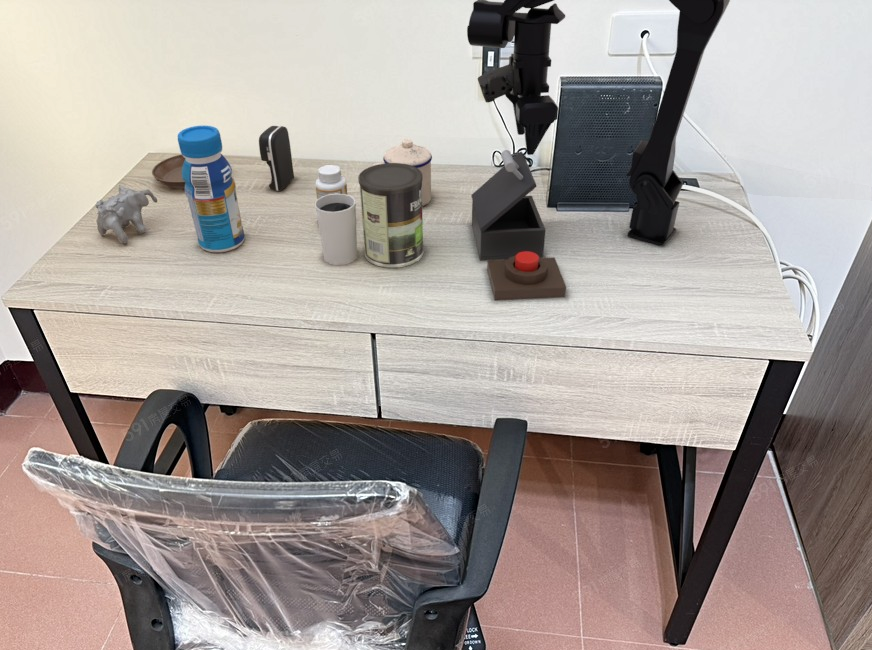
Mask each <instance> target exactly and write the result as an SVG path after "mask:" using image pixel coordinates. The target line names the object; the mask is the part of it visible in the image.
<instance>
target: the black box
mask: <svg viewBox="0 0 872 650" xmlns="http://www.w3.org/2000/svg"><path fill="white" fill-rule="evenodd" d="M533 197H534V196H533V195H526V196H525V197H524V198H522V199H521V200H520V201H519V202H518V203H517V204H515V205H514V206H513V207H512V208H511V209H509V210H508V211H507V212H506V213H505V214H503V215H502V216H501V217H500V218H499V219H498V220H496V221H495V222H494V223H493V224H492V225H490V226H489V227H488V228H487V229H486V230H484V231H483V232H482V231H481V230H480V228H479V224H478V220H477V216H476V212H475V208H474V204H473V200H472V201H471V229H472V233H473V237H474V241H475V242H474V243H475V245H476V249H477V254H478V258H479V261H481V262H483V261H484V262H485V261H489V260H508V259H509V258H510V257H513V256H515V255H517V254H518V253H520V252H524V251H529V252H533V253H536V254H537V255H538V256H539V257H541V258H544V251H545V250H544V248H545V240H546V230H547V229H546V227H545V225H544V223H543V220H542V218H541V215H540V212H539V210H538V207H537V204H536V203H535V200H534V198H533Z"/></svg>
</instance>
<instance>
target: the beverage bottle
mask: <svg viewBox="0 0 872 650" xmlns="http://www.w3.org/2000/svg"><path fill="white" fill-rule="evenodd" d="M221 137H222V136H221V133H220V130H219V129H218V128H216V127H215V126H213V125H194V126H190V127H186V128H184V129H182V130H180V131H179V133H178V134H177V142H178V147H179V151H180V155H182V156H183V157H185V161H184V163H183V167H182V178H183V180H184V181H185V182H186V183H185V189H184V193H185V196H186V198H187V202H188V206H189V209H190V213H191V218H192V221H193V225H194V229H195V233H196V237H197V243H198V245H199V247H200V248H201V249H202V250H204V251H206V252H210V253H226V252H229V251H233V250H235V249H237V248H238V247H240V246H241V245H242V244H243V243H244V241H245V238H246V237H245V236H246V235H245V232H244V226H243V222H242V217H241V210H240V206H239V201H238V196H237V195H238V194H237V187H236V182H235V180H234V178H233V176H232V172H233V169H232V166H231V163H230V162H229V161H228V160H227V158H226V157H225V156H224V155H223V154H222V151H223V142H222V138H221Z"/></svg>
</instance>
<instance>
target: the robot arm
mask: <svg viewBox="0 0 872 650" xmlns="http://www.w3.org/2000/svg"><path fill="white" fill-rule="evenodd" d="M554 1H555V0H503V2H502V1H489V0H475V1H474V2H473V4H472V12H471V14H470V17H469V21H468V25H467V28H466V36H467V37H466V38H467V40H468V43H469V45H470V46H472V47H486V48H495V49H505V48H506V47H507V45H508V43H512V42H513V53H511V54H510V56H509V57H508V64H506V65H504V66H499V67H497V68H494V69H492V70H490V71H487V72H486V73H483V74H481V75H479V76H478V77H477V83H478V85H479V88H480V91H481V94H482V97H483V99H484V101H485V103H487V104H488V103H492V102H494V101H495V100H496V99H498V98H500V97H503V96H505V97H506V98H507V100H508V101H510V103H512V108H513V113H514V120H515V125H516V132H517V135H518V136H520V135H524V140H525V149H526V154H527V155H528V156H532V155H534V154H535V152H537V151H536V150H537V149H538V147H539V145H540V143H541V141H542V140H543V138H544V137H545V134H546V133H547V132H548V130H549V128H550V127H551V125H552V124H554V123H555V121H556V120H558V116H559V115H558V114H559V107H558V105H557V103H556V102H555V100H554V99H553V98H552V97H551V96H550V95H549V94H548V93H549V92H550V85H549V84H548V69H549V67H550V68H551V67H552V59H551V58H550V44H551V34H552V33H551V31H552V24H553V25H558V24H559V23H561V22H562V21H563V20H564V19H566V14H565V13H564V12H563V11H562V10H561V9H560V8H559V7H558V4H557V3H555V2H554ZM668 1H669V2H670V4H671V5H673V6H674V7H675V8H676V9H677V10H678V11H679V15H678V21H677V22H678V23H677V29H676V50H675V54H674V58H673V61H672V63H671V64H672V65H671V68H670V71H669V75H668V77H667V81H666V85H665V87H664V91H663V95H662V98H661V101H660V105H659V108H658V111H657V114H656V118H655V121H654V124H653V127H652V130H651V134H650V137H649V140H648V141H647V140H644V139H641V140H640V142H639V144H638V145H637V147H636V148H635V149H634V151H633V153H632V160H631V167H630V168H629V170H628V172H627V173H626V177H629V182H628V185H629V188H630V189H631V191H632V193H634V194H635V195H636V199H637V201H636V204H635V205H633V207H632V210H631V216H630V221H629V226H628V227H629V229H630V230H629V231H628V232H627V237H629V238H633V239H636V240H639V241H644V242H647V243H650V244H655V245H658V246H664V245H665V244H666V243H667V242H668V241H669V240H670V238H672V236H673V235H674V234H675V233H676V232H677V228H676V227H675V224H676V219H677V215H678V211H679V206H680V204H681V203H680V201H678V200H677V199H678V197H679V194H680V192H681V190H682V189H683V186H684V182H683V181H682V180H681V178H680V177H679V176H678V174H677V173H676V172H675V170H674V165H675V157H676V147H677V146H676V144H677V142H676V141H677V136H678V132H679V129H680V127H681V124H682V120H683V117H684V114H685V112H686V108H687V105H688V102H689V99H690V96H691V92H692V90H693V86H694V85H695V81H696V77H697V74H698V72H699V68H700V66H701V63H702V60H703V57H704V53H705V50H706V48H707V46H708V44H709V43H710V40H711V39H712V37H713V35H714V33H715V32H716V29H717V27H718V25H719V23H720V22H721V20H722V18H723V16H724V14H725V12H726V10H727V8H728V7H729V4H730V2H731V0H668ZM551 2H554V3H553V4H551V5H550V6H549V7H548V8H543V7H542V8H540V6H543V5H546V4H549V3H551ZM523 8H524V9H529V10H528V11H527V12H518V11H519V10H521V9H523ZM542 94H548V95H542Z"/></svg>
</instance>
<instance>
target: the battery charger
mask: <svg viewBox="0 0 872 650" xmlns="http://www.w3.org/2000/svg"><path fill="white" fill-rule="evenodd" d="M258 148H259V155H260V160H261V162H266V164H267V166H268V168H269V171H270V178H271V181H270V183H269V184H268V189H270V190H271V191H276V192H280V191H283V190H284V189H285V188H286V187H287V186H288V185H289V184H290V183H291V182H292V181H293V180H294V179H295V172H294V166H293V165H294V164H293V157H292V156H293V155H292V148H291V141H290V135H289V130H288V128H287V127H286V126H283V125H271V126H269V127H267V128H266V129H265V130H264V131H263V132H262V133H261V134H260V135H259V137H258Z"/></svg>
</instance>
